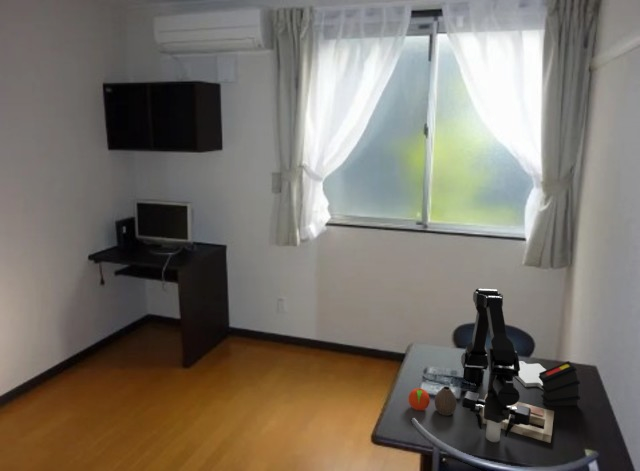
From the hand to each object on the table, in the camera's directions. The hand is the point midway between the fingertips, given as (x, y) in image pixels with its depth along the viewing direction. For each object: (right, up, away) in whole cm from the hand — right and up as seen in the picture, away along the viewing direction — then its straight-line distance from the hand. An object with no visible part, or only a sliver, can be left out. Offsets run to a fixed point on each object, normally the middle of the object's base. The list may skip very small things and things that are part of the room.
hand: (493, 432), depth 144 cm
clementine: (-20, +2, +14) cm, 24 cm away
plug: (0, -2, 0) cm, 2 cm away
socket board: (+11, 0, +9) cm, 14 cm away
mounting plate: (+28, +6, +36) cm, 46 cm away
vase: (-11, +1, +13) cm, 17 cm away
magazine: (+28, +2, +19) cm, 34 cm away
